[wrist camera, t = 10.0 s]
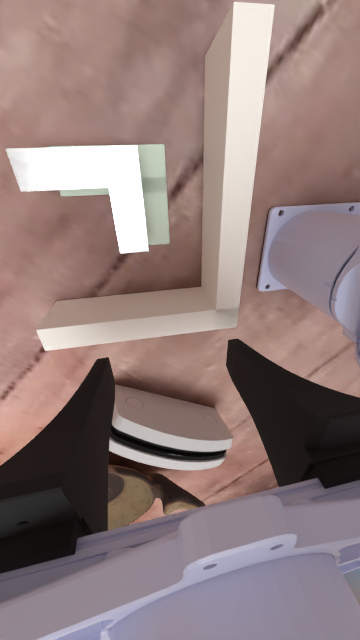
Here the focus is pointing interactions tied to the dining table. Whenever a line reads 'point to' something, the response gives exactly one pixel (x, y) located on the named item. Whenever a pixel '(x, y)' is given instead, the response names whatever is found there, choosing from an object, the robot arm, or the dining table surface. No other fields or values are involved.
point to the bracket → (90, 181)
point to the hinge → (167, 431)
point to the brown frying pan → (142, 495)
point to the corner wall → (218, 205)
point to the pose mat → (144, 190)
